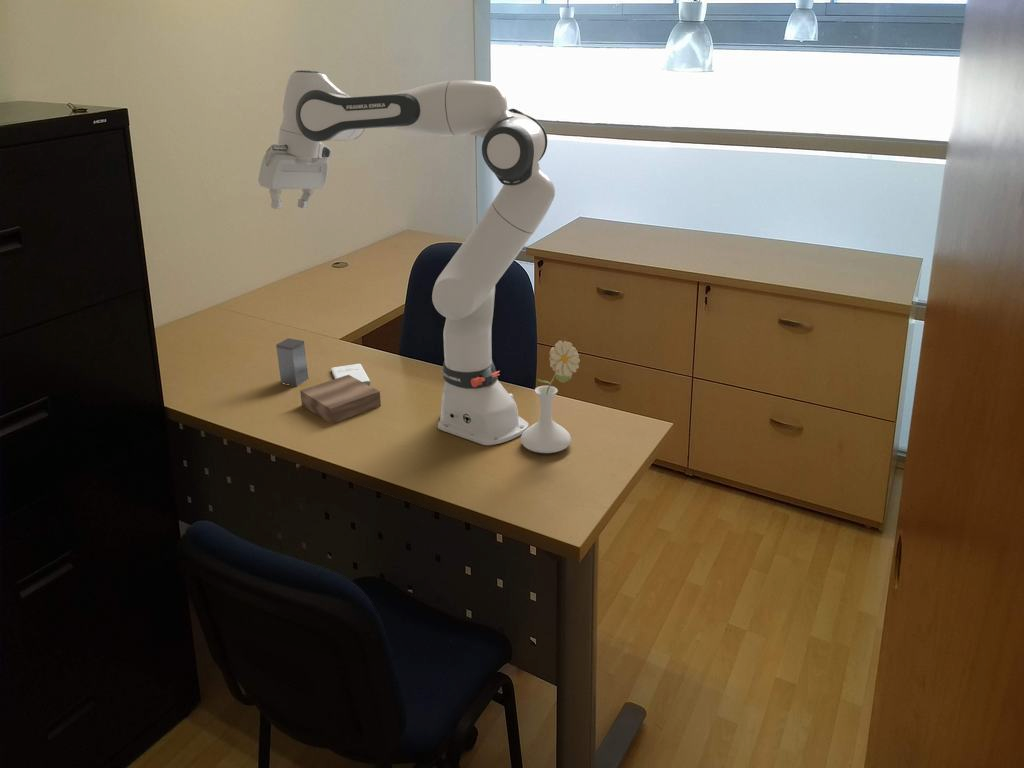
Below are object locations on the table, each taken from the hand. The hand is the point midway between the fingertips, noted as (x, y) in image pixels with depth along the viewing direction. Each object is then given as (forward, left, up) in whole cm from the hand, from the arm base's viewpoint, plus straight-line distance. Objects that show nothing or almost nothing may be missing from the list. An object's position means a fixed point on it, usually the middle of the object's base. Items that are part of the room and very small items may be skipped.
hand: (289, 208), depth 194 cm
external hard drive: (+7, -16, -50) cm, 53 cm away
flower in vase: (-56, -28, -49) cm, 79 cm away
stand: (-6, -5, -49) cm, 50 cm away
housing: (+15, -4, -49) cm, 52 cm away
